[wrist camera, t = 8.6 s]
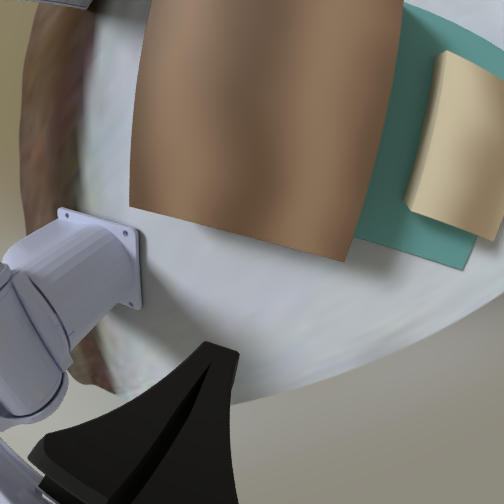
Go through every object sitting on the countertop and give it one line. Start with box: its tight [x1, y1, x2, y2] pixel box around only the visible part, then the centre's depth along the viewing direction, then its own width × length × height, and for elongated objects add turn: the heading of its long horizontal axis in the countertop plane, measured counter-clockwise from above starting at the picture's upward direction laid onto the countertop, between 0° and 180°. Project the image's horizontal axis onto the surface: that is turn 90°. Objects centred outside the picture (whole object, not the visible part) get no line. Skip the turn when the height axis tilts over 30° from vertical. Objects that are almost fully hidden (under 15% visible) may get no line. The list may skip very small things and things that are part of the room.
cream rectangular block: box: [403, 50, 504, 242], centre depth 12 cm, size 6×9×2 cm, turn 171°
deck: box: [129, 0, 404, 262], centre depth 13 cm, size 12×15×4 cm
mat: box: [353, 2, 504, 270], centre depth 13 cm, size 9×15×1 cm, turn 171°
